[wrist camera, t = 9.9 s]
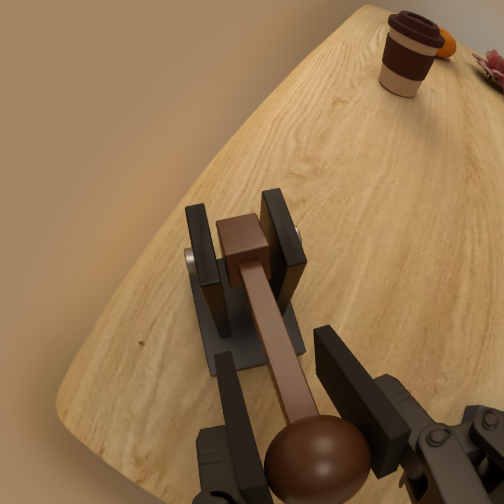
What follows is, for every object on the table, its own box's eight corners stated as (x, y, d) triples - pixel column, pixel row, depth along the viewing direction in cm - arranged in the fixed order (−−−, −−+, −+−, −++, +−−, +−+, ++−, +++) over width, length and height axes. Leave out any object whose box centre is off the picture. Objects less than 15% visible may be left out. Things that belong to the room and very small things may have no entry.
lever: (369, 489, 8) (402, 482, 6) (279, 520, 8) (280, 528, 6) (269, 250, 19) (267, 200, 16) (211, 263, 18) (200, 214, 16)
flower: (480, 73, 49) (500, 49, 41) (462, 56, 58) (479, 35, 49) (513, 109, 52) (532, 87, 44) (494, 87, 60) (511, 67, 52)
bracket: (303, 354, 25) (358, 309, 13) (212, 377, 24) (177, 356, 12) (272, 252, 30) (289, 146, 17) (189, 270, 29) (152, 172, 16)
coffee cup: (364, 83, 44) (385, 9, 31) (379, 67, 48) (398, 3, 35) (416, 110, 42) (446, 38, 29) (425, 90, 46) (450, 28, 32)
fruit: (417, 51, 55) (426, 26, 48) (414, 39, 60) (421, 16, 53) (453, 68, 54) (463, 44, 47) (447, 53, 58) (455, 32, 51)
